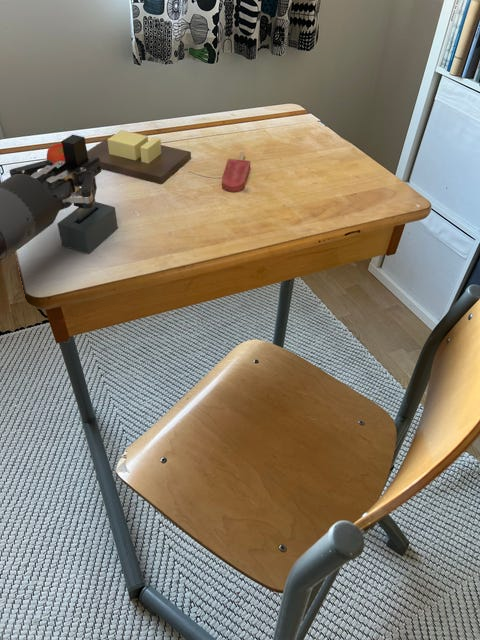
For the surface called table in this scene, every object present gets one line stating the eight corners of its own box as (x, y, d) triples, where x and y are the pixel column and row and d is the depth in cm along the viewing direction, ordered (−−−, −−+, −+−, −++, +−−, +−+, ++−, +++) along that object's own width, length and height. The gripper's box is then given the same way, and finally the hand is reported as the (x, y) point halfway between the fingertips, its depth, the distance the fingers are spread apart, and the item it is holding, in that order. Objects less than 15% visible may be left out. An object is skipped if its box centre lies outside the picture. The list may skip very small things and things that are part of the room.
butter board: (80, 163, 100) (78, 156, 99) (114, 140, 108) (113, 133, 107) (161, 184, 95) (161, 177, 94) (191, 158, 103) (190, 151, 102)
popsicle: (253, 149, 103) (243, 185, 93) (253, 157, 105) (243, 194, 94) (231, 146, 104) (219, 183, 93) (231, 155, 105) (219, 191, 94)
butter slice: (141, 162, 98) (139, 146, 96) (154, 151, 101) (153, 137, 99) (148, 163, 98) (147, 148, 95) (161, 153, 101) (160, 138, 99)
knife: (78, 241, 80) (57, 143, 69) (93, 229, 83) (75, 132, 72) (88, 244, 80) (70, 146, 69) (103, 232, 83) (87, 135, 72)
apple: (48, 192, 91) (39, 152, 86) (60, 176, 95) (51, 137, 90) (83, 195, 91) (76, 155, 86) (93, 179, 95) (86, 140, 90)
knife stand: (62, 245, 79) (56, 223, 77) (92, 221, 85) (88, 199, 82) (89, 254, 78) (84, 231, 75) (118, 228, 84) (115, 206, 81)
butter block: (109, 154, 100) (107, 139, 98) (123, 144, 103) (121, 129, 101) (135, 160, 98) (134, 145, 96) (149, 150, 102) (147, 135, 100)
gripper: (48, 202, 59) (128, 146, 71) (-45, 176, 63) (47, 126, 75) (60, 255, 65) (133, 194, 76) (-26, 228, 68) (57, 174, 80)
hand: (90, 161), depth 76 cm, fingers closed on knife, 2 cm apart
